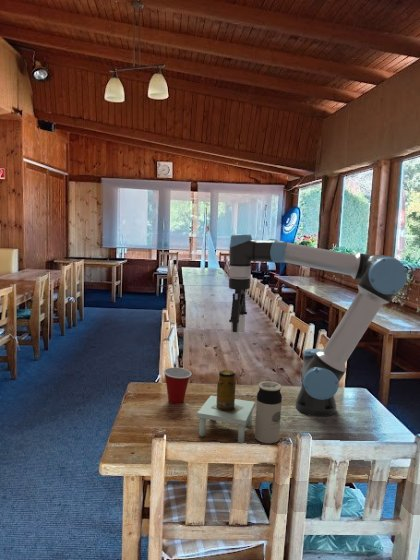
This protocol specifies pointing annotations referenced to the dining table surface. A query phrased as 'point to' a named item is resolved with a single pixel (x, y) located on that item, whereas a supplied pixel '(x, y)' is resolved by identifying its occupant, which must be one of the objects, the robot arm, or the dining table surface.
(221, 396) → the condiment
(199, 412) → the stool
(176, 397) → the plastic cup
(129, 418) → the dining table surface
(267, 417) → the travel mug
